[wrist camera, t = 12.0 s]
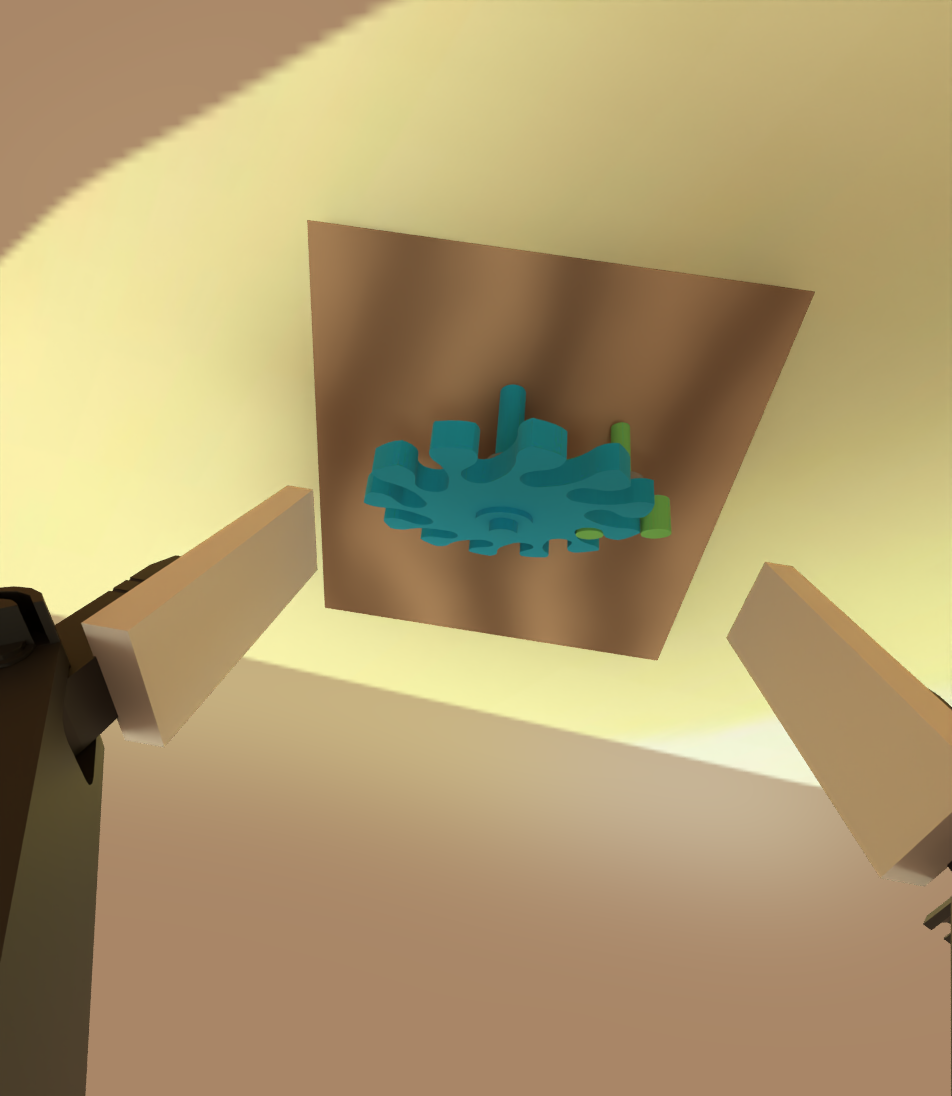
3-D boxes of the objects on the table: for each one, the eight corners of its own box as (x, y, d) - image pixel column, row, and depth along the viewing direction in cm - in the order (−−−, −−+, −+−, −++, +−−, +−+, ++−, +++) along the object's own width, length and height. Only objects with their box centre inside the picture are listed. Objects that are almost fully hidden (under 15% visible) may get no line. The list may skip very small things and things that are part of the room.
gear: (370, 552, 19) (337, 439, 10) (389, 437, 21) (377, 246, 12) (603, 582, 21) (768, 506, 11) (603, 471, 23) (747, 325, 13)
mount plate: (791, 294, 16) (815, 291, 15) (649, 642, 24) (657, 660, 23) (324, 228, 17) (307, 220, 15) (335, 592, 25) (324, 607, 23)
